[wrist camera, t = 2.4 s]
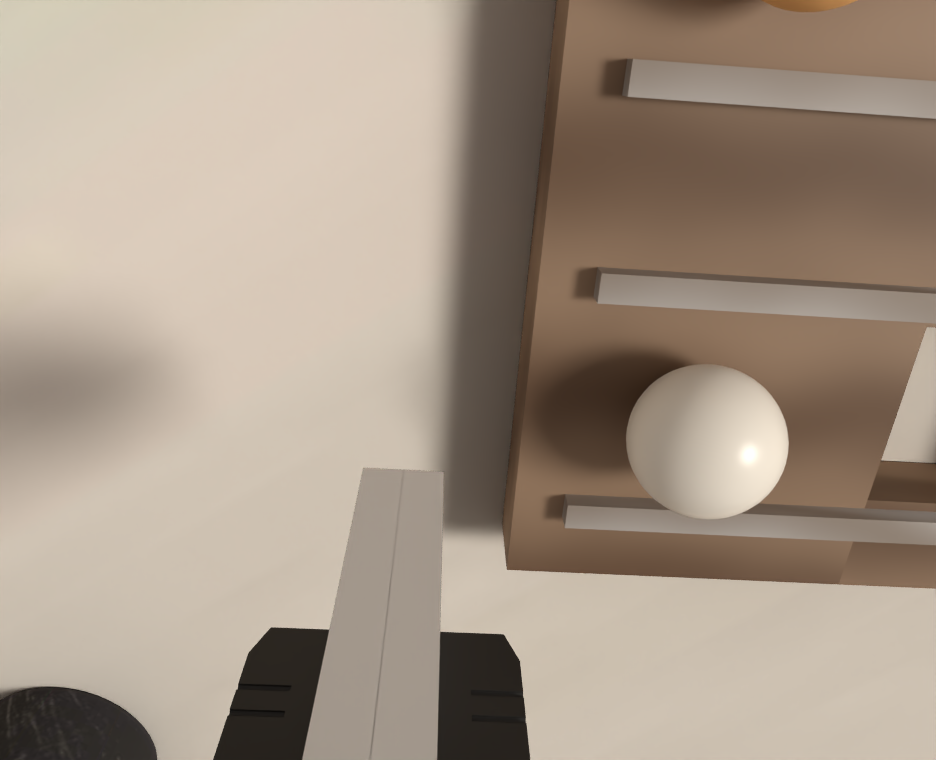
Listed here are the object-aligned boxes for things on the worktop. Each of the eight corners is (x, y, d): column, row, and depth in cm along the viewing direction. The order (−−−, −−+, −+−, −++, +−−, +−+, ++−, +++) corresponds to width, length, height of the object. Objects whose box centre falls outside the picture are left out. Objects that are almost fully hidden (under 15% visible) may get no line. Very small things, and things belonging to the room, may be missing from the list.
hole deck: (1033, 547, 26) (1102, 608, 24) (502, 522, 26) (508, 582, 23) (1440, -330, 17) (1643, -407, 14) (599, -414, 16) (630, -514, 13)
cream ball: (737, 470, 22) (793, 555, 18) (603, 463, 22) (633, 548, 18) (768, 345, 20) (837, 411, 17) (624, 337, 20) (661, 401, 16)
